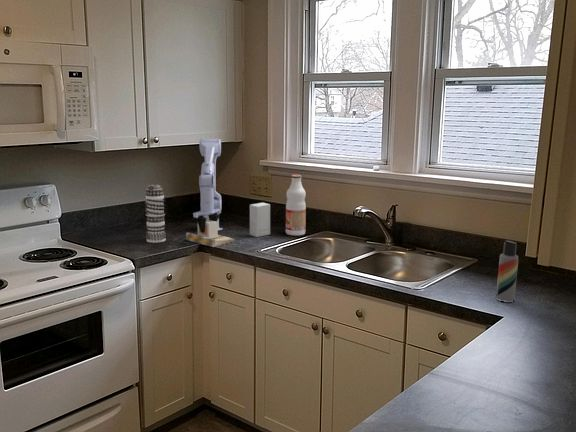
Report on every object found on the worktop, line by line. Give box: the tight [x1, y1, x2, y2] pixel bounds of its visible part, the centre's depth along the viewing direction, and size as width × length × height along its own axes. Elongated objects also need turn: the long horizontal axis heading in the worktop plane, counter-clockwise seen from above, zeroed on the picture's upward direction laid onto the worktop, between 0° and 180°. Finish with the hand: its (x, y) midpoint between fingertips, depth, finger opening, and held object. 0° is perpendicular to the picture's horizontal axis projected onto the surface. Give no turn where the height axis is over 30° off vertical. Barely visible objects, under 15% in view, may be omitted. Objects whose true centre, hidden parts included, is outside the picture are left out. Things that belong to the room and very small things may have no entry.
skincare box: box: [249, 202, 271, 238], centre depth 274 cm, size 8×6×15 cm
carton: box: [196, 219, 219, 238], centre depth 262 cm, size 5×8×7 cm, turn 47°
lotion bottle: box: [495, 240, 519, 301], centre depth 190 cm, size 6×6×20 cm
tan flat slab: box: [185, 232, 236, 248], centre depth 263 cm, size 18×14×3 cm
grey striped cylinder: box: [144, 183, 167, 244], centre depth 260 cm, size 9×9×25 cm
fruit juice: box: [285, 174, 307, 236], centre depth 277 cm, size 9×9×28 cm
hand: (207, 231), depth 262 cm, fingers closed on carton, 5 cm apart
